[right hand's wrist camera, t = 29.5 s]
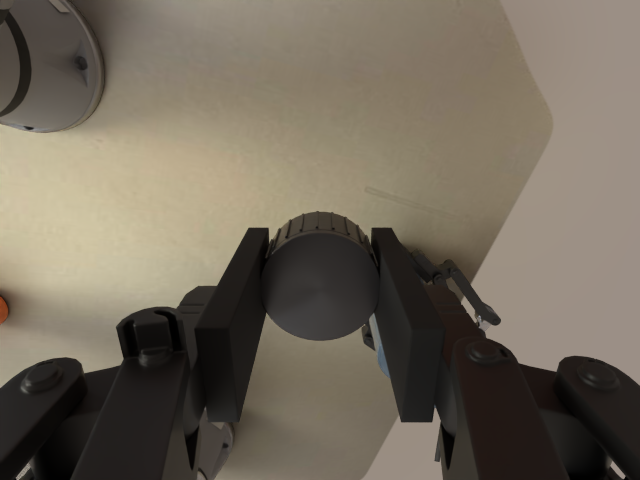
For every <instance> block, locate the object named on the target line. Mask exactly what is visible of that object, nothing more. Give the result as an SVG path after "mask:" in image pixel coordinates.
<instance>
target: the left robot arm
mask: <svg viewBox="0 0 640 480" xmlns="http://www.w3.org/2000/svg"><path fill="white" fill-rule="evenodd" d="M399 243H400V242H399ZM400 244H401V243H400ZM401 246H402V248H403V250H404V252H405V254H406V255H407V257H408V259H409V261H410V263H411V265H412V266H413V268H414V270H415V272H416V273H417V274H418V275H419V276H420V277H421V278H422V279H423V280H424V281H425V282H426V283H428V282H429V281H430V280H432V283H433V285H443V286H445V287H446V288H447V289H448V286H447V283H446V281H445V279H447V278H450V277H452V279H453V280H454V281H455V283H456V284H457V286H458V287H459V288H460V290H461V291H462V293H463V294H464V295H465V297H466V298H467V300H468V301H469V302H470V304H471V305H472V306H473V308H474V309H475V318H476V319H477V322H476V323H475V324H476V326H477V327H478V328H479V330H480V331H481V333H482V334H483V336H484V337H485V338H486V335H485V332H484V331H485V330H486V329H487V328H488V327H489V326H490V325H491V324H492V325H498V324H500V322H501V319H500V318H499V317H498V315H497V314H496V313H495V312H494V310H493V309H492V308H491V307H490V306H488V305H487V304H485V303H483V302H482V301H481V299H480V298H479V297H478V295H477V294H476V292H475V291H474V289H473V288H472V287H471V285H470V284H469V282H468V281H467V279H466V278H465V277H464V275H463V274H462V272H461V271H460V269H459V268H458V267H457V266H456V265H455V263H454V262H453V261H452V260H450V259H449V260H446V261H445V262H444V264H441V265H436V264H434V263H433V262H432V261H431V260H430V259H429V258H428V257H427V256H426V255H425V254H424V253H423V252H422V251H421V250H418V249H416V250H415V251H414V252H412V253H410V252H409V251H408V250H407V249H406V248H405V247H404V246H403V245H402V244H401ZM365 324H366V325H365V326H363V327H362V336H363V341H364V344H366V345H367V346H369V347H370V348H372V349H373V350H375V346H374V341H373V336H372V332H371V327H370V323H369V320H368V321H367V322H366V323H365ZM375 351H376V350H375ZM199 423H200V429H201V436H202V440H201V448H200V457H199V466H198V475H197V480H214V478H215V477H216V475H217V474H218V472H219V471H220V469H221V468H222V466H223V464H224V463H225V461H226V460H227V458H228V456H229V454H230V452H231V449H232V445H233V441H234V429H233V426H232V424H231V422H208V419H207V412H206V406H205V409H204V411H203V414H202V417H201V420H200V422H199Z"/></svg>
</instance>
